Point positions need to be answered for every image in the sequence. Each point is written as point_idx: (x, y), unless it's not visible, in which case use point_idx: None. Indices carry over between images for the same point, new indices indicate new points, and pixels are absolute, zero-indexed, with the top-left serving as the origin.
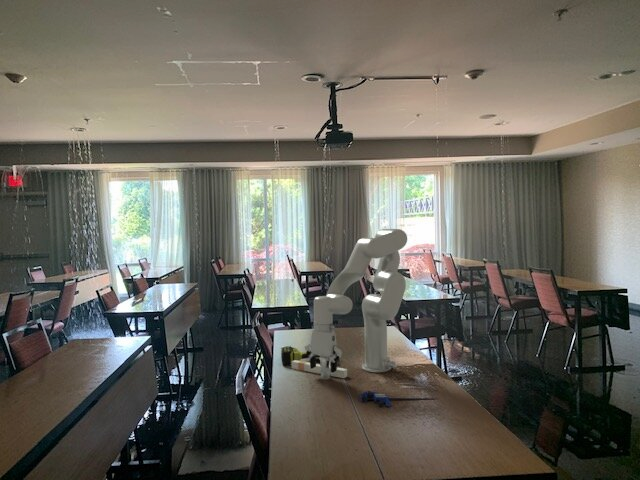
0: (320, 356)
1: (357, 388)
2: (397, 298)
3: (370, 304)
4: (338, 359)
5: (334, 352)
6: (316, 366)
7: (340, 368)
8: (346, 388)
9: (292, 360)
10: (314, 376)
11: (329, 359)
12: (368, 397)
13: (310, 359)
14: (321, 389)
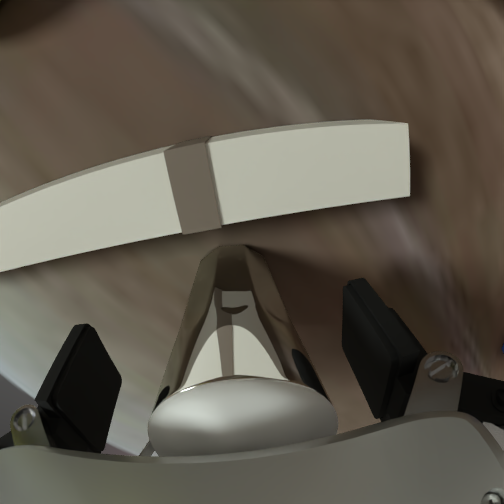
0: (145, 455)
1: (491, 275)
2: None
3: None
4: (475, 389)
5: (431, 442)
6: (46, 258)
7: (333, 145)
8: (448, 313)
9: None
10: (127, 297)
11: (335, 429)
12: None
13: (89, 450)
14: (336, 399)
